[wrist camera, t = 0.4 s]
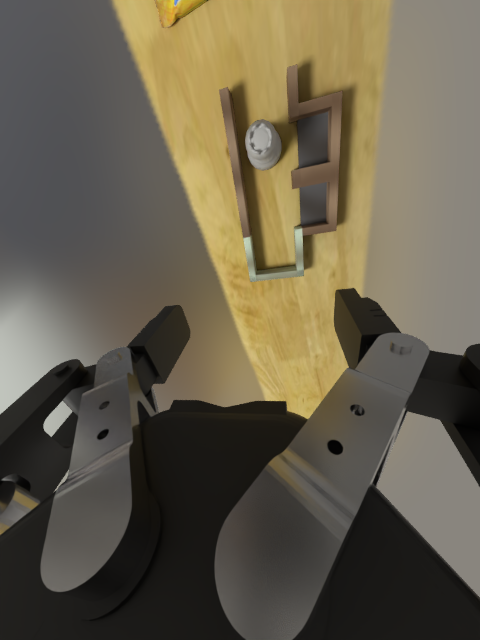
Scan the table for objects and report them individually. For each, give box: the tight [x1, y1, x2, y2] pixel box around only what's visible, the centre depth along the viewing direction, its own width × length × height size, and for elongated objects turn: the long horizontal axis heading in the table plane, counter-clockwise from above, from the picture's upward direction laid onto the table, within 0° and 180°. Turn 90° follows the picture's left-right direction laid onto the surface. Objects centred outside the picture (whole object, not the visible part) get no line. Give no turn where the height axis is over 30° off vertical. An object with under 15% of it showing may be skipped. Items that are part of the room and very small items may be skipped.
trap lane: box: [219, 64, 342, 282], centre depth 29 cm, size 23×13×2 cm, turn 10°
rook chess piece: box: [245, 119, 282, 170], centre depth 25 cm, size 4×4×8 cm
